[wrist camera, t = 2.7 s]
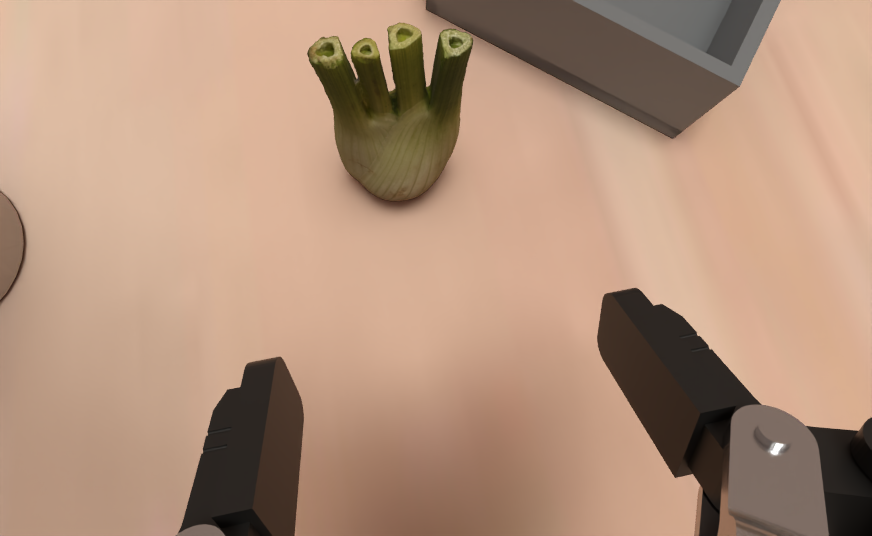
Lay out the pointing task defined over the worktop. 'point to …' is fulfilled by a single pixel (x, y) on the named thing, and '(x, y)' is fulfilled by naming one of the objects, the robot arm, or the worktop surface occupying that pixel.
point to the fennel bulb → (394, 108)
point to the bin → (628, 48)
